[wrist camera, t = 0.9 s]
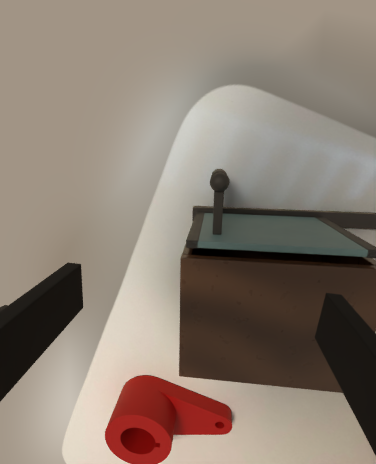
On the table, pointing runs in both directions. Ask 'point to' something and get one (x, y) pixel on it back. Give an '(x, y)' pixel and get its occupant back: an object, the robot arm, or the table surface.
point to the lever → (160, 419)
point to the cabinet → (267, 307)
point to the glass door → (270, 231)
